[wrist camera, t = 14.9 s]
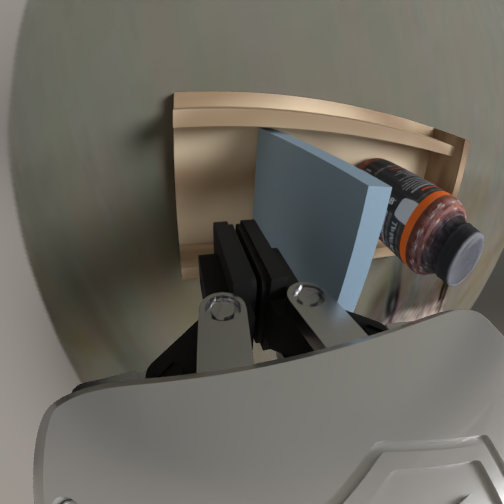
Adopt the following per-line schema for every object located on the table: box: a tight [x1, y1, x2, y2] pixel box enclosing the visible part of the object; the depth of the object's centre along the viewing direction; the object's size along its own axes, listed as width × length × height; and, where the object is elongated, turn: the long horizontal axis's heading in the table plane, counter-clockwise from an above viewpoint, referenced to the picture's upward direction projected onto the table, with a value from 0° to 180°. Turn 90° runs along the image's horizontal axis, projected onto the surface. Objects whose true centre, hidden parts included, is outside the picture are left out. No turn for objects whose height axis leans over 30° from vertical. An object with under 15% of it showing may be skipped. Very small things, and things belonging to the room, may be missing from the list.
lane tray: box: [173, 92, 470, 280], centre depth 20 cm, size 13×24×5 cm, turn 86°
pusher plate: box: [252, 128, 392, 313], centre depth 15 cm, size 8×1×12 cm, turn 177°
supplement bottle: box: [357, 158, 484, 286], centre depth 17 cm, size 6×6×11 cm
